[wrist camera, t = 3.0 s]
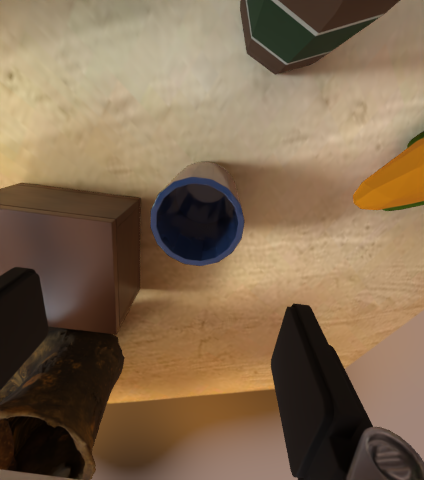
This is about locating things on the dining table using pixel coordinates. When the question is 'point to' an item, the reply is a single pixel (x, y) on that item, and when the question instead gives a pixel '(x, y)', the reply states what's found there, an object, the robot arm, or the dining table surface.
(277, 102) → the dining table surface
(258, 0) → the beer bottle
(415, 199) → the corn
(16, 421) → the pottery vessel
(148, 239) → the dining table surface
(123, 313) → the box
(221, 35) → the dining table surface
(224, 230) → the cup
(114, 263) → the box lid
